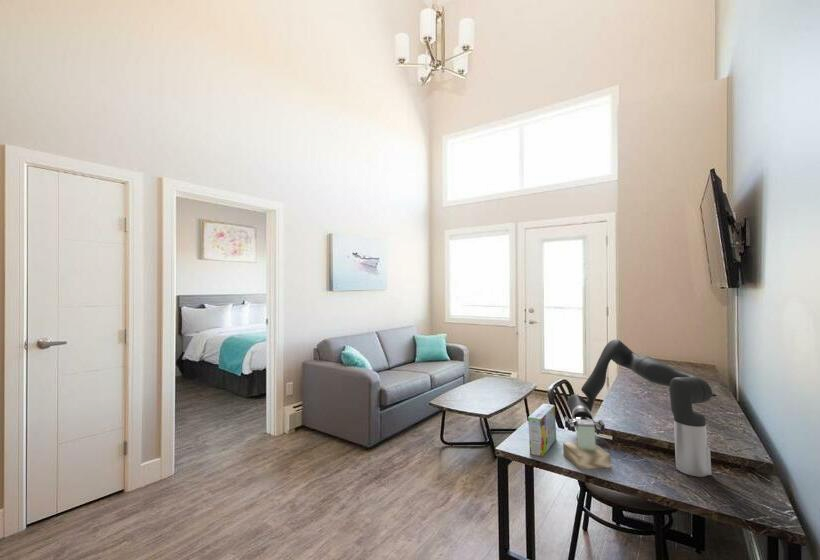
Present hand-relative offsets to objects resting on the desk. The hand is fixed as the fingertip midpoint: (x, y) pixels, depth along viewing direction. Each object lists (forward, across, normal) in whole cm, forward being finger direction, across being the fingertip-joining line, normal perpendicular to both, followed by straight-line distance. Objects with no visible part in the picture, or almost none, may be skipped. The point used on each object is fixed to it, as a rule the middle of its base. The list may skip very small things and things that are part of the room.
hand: (585, 430), depth 140 cm
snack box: (-10, -16, +12) cm, 22 cm away
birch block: (-1, 0, +12) cm, 12 cm away
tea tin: (-1, 0, +7) cm, 7 cm away
